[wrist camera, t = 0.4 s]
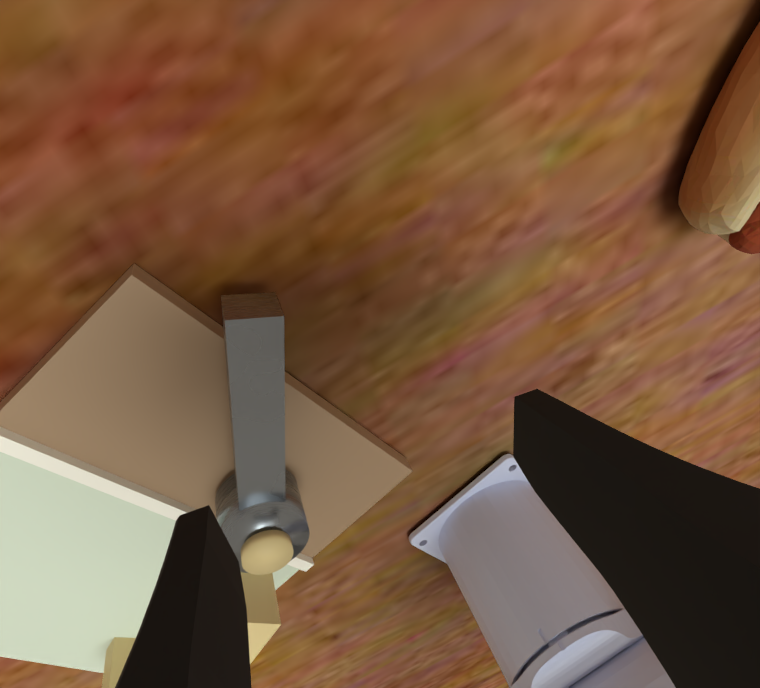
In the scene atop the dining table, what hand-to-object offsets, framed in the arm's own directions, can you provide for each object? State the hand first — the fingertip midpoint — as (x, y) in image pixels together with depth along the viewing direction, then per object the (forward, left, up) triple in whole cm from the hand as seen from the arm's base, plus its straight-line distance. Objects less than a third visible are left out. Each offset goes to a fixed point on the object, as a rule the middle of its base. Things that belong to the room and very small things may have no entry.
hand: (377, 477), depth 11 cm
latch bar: (-2, +5, -9) cm, 10 cm away
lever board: (-3, +12, -10) cm, 16 cm away
